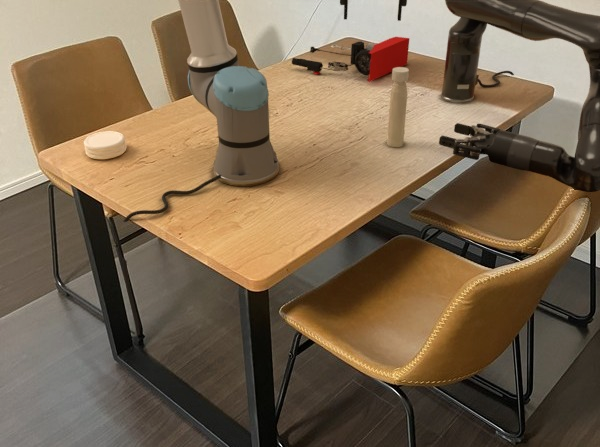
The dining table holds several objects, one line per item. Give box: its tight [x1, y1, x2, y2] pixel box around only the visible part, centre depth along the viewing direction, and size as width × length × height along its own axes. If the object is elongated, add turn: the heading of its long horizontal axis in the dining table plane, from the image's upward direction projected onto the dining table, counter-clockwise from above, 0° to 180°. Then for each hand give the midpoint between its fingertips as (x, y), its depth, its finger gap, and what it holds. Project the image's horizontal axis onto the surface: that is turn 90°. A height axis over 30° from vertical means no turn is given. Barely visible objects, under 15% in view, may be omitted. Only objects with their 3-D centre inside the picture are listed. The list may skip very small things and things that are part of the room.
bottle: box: [386, 80, 408, 148], centre depth 152 cm, size 4×4×19 cm
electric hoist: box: [291, 36, 410, 82], centre depth 206 cm, size 10×27×30 cm
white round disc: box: [83, 130, 128, 160], centre depth 155 cm, size 10×10×4 cm
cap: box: [391, 66, 410, 82], centre depth 148 cm, size 4×4×2 cm
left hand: (372, 18), depth 158 cm, fingers open, 13 cm apart
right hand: (447, 133), depth 147 cm, fingers open, 8 cm apart
